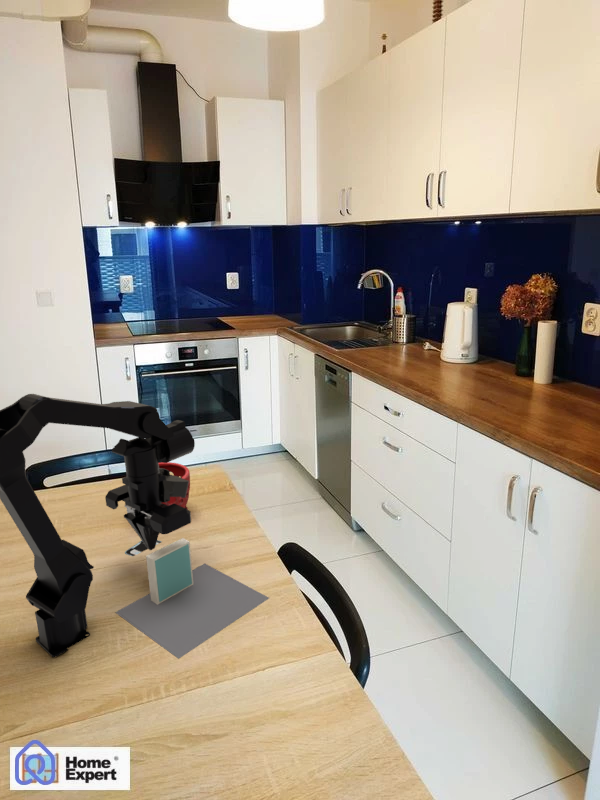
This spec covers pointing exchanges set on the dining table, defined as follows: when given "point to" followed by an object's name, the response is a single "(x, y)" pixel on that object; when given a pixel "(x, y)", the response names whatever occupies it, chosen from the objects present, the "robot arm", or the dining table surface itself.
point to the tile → (169, 570)
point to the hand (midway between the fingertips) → (151, 548)
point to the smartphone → (138, 548)
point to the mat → (193, 611)
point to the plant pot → (178, 471)
